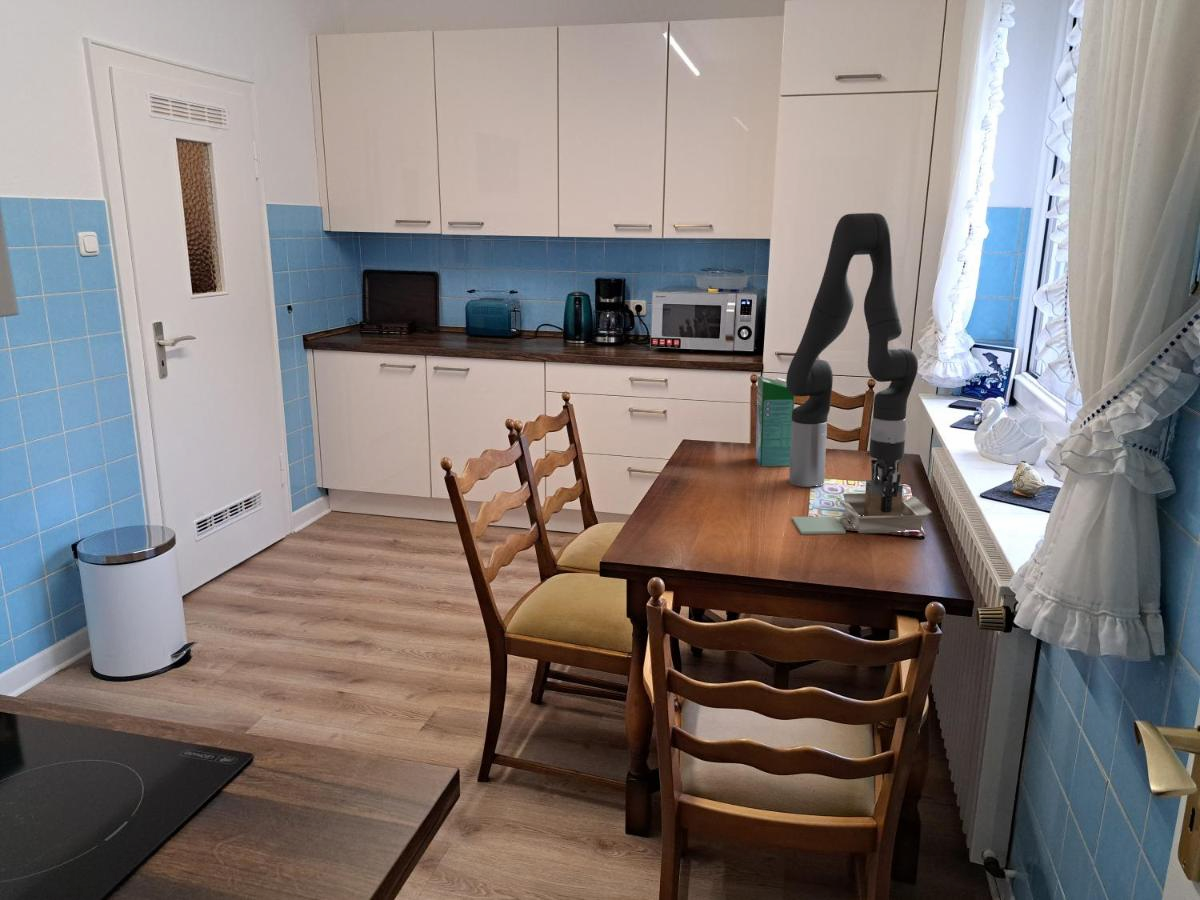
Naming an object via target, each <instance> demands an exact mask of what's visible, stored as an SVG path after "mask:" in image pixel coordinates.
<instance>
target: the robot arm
mask: <svg viewBox="0 0 1200 900" xmlns="http://www.w3.org/2000/svg"><path fill="white" fill-rule="evenodd" d="M891 243H892V242H891V233H890V227H889V223H888V220H887V218H886V217H885V216H884V215H883V214H881V213H879V212H878V213H877V212H863V213H862V212H860V213H859V212H858V213H856V212H855V213H848V214H844V215H842V216H841V218H840V219H838V221H837V223H836V226H835V229H834V232H833V236H832V239H831V243H830V247H829V248H830V249H829V253H828V256H827V257H828V258H827V262H826V266H825V269H824V272H823V275H822V279H821V282H820V285H819V287H818V291H817V294H816V296H815V298H814V302H813V305H812V307H811V310H810V314H809V317H808V320H807V324H806V327H805V330H804V333H803V335H802V337H801V340H800V343H799V345H798V347H797V349H796V351H795V353H794V355H793V358H792V359H791V362H790V364H789V366H788V370H787V373H786V378H785V380H786V385H787V389H788V391H789V393H790V394H792V395H794V397H808V399H807V400H806V401H805V402H804V403H802V404H800V405H798V406H796V407H794V410H793V411H792V422H791V448H790V466H789V473H788V474H789V475H788V483H789V484H791V485H793V486H796V487H801V488H812V487H811V486H816V485H821V484H823V483H824V484H825V469H826V453H827V452H826V451H827V432H828V417H829V413H830V410H831V401H832V400H831V399H832V391H833V381H834V380H833V376H834V375H833V369H832V367H831V365H830V363H829V362H828V361H826V360H825V359H818V358H819V356H820V355H821V354H822V352H823V351H825V350H826V348H827V347H829V346H830V345H831V344H832V343H833V342H834V341H835V340H836V339H838V337H839V336H840V335H842V333H843V332H844V330H845V328H846V327H847V325H848V323H849V319H850V317H851V314H852V312H853V310H854V295H853V291H852V289H851V285H850V282H849V280H848V271H849V267H850V263H851V260H852V259H853V257H854V256H861V255H863V256H865V255H866V256H867V255H869V258H870V261H871V265H872V273H871V277H870V278H871V279H870V282H869V285H868V287H867V290H866V293H865V297H864V301H863V302H864V303H863V314H864V317H865V318H864V319H865V321H866V325H867V326H866V327H867V332H868V353H867V354H868V355H867V370H868V373H869V375H870V376H871V378H872V379H873V380H874V381H876V382H878V383H879V382H880V383H884V382H890V384H889V386H888V387H887V388H885V389H882V390H881V391H879V392H877V393H875V395H874V399H873V407H872V408H873V409H872V410H873V411H872V420H871V425H870V437H869V452H868V455H869V456H870V457H871V461H870V462H871V464H870V465H871V466H870V467H871V480H875V481H879V485H880V486H881V487H882V502H881V511H882V512H883V513H887V512H891V510H892V497H897V493H898V488H899V482H900V481H901V477H902V475H901V473H898V474H896V473H897V467H896V463H895V462H896V461H897V460H899V461H900V460H903V458H904V456H905V448H906V447H905V445H906V435H907V434H906V432H907V426H906V425H907V423H906V422H907V421H906V416H907V404H908V402H907V401H908V399H909V397H910V393H911V391H912V388H913V385H914V382H915V379H916V377H917V374H918V369H919V365H918V364H919V363H918V362H919V361H918V359H917V356H916V354H915V352H914V351H913V350H912V349H909V348H895V349H891V348H889V342H891V341H894V340H895V339H898V338H899V337H900V336H901V335H902V332H903V330H902V323H901V320H900V316H899V315H900V314H899V311H898V306H897V301H896V297H895V296H896V295H895V291H894V289H895V287H894V277H893V276H894V275H893V274H894V273H893V259H892V258H893V256H892V244H891ZM884 482H887V483H884ZM900 483H901V482H900ZM824 484H823V485H824ZM821 486H822V485H821ZM885 487H886V488H885ZM889 489H891V490H890V491H889Z"/></svg>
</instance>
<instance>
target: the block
mask: <svg viewBox="0 0 1200 900" xmlns="http://www.w3.org/2000/svg"><path fill="white" fill-rule="evenodd" d="M884 483H887V482H884ZM885 488H886V487H885ZM903 489H904V485H903V484H902V483H901V482H899V488H898V493H897V497H892V510H891V512H887V513H883V512H882V511H881V502H882V487H881V486H880V485H879V481H875V480H872V479H866V482H865V506H864V516H901V504H902V496H903ZM890 490H891V489H889V491H890Z"/></svg>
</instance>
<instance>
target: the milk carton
mask: <svg viewBox="0 0 1200 900" xmlns="http://www.w3.org/2000/svg"><path fill="white" fill-rule="evenodd" d="M756 393H757V395H756V400H757V401H756V421H755V422H756V424H755V425H756V427H755V460H756V459H757V460H756V461H757V462H758V464H759V466H760V467H790V448H791V422H792V411H793V410H794V409H795V396H794V395H792V394H790V393H789V391H788V389H787V385H786V378H785V379H784V378H780V377H776V378H775V379H772V378H767V377H764V376H757V392H756Z"/></svg>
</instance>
